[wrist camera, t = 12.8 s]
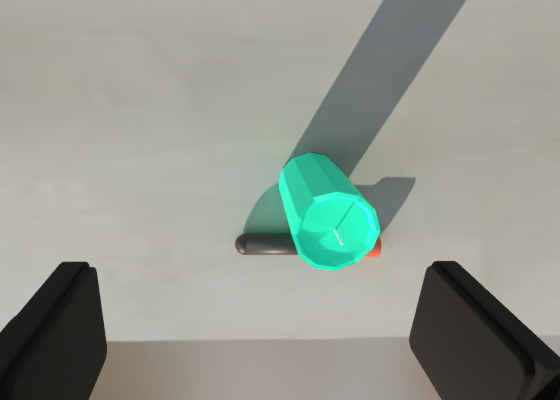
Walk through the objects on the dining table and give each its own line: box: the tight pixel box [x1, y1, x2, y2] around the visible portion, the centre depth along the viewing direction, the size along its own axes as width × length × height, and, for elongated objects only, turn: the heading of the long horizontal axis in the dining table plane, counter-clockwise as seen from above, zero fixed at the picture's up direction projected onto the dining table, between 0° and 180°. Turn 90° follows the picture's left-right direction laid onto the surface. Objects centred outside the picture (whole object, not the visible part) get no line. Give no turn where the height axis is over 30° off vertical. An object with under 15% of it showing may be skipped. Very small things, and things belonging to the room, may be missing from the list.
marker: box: [235, 234, 381, 257], centre depth 35 cm, size 14×2×2 cm, turn 87°
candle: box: [278, 152, 381, 270], centre depth 28 cm, size 6×6×12 cm
